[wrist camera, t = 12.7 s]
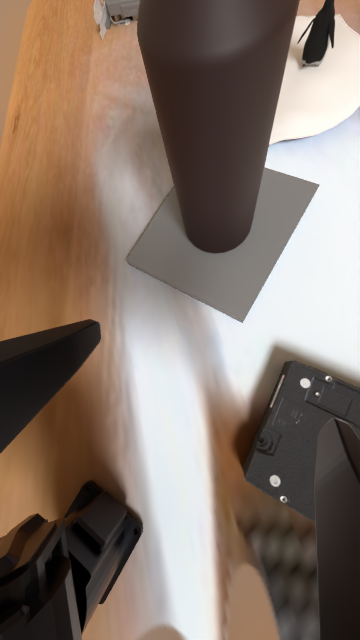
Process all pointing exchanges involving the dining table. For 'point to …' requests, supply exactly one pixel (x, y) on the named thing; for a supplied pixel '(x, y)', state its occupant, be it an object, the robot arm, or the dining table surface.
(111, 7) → the graphics card
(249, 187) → the brown bottle
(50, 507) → the dining table surface
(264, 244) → the mat
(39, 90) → the dining table surface
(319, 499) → the robot arm
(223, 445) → the dining table surface
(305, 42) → the figurine
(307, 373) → the disk drive
